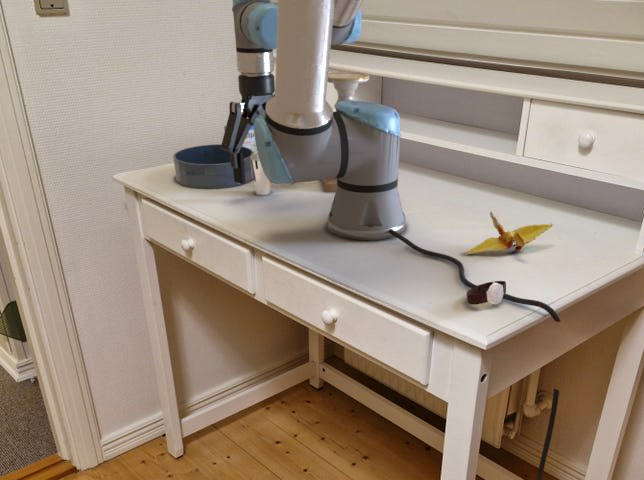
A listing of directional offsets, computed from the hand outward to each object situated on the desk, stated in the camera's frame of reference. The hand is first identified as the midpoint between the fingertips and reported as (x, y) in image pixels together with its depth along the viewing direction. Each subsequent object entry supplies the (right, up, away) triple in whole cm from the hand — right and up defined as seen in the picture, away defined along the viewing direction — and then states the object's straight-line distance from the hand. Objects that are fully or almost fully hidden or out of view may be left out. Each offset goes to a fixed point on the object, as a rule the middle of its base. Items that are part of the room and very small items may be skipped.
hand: (262, 175), depth 150 cm
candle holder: (+19, 0, +7) cm, 20 cm away
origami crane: (+48, -21, -28) cm, 59 cm away
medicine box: (-8, +12, +28) cm, 31 cm away
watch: (+40, -32, -46) cm, 69 cm away
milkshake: (0, -3, +2) cm, 4 cm away
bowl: (-13, +3, +13) cm, 19 cm away
